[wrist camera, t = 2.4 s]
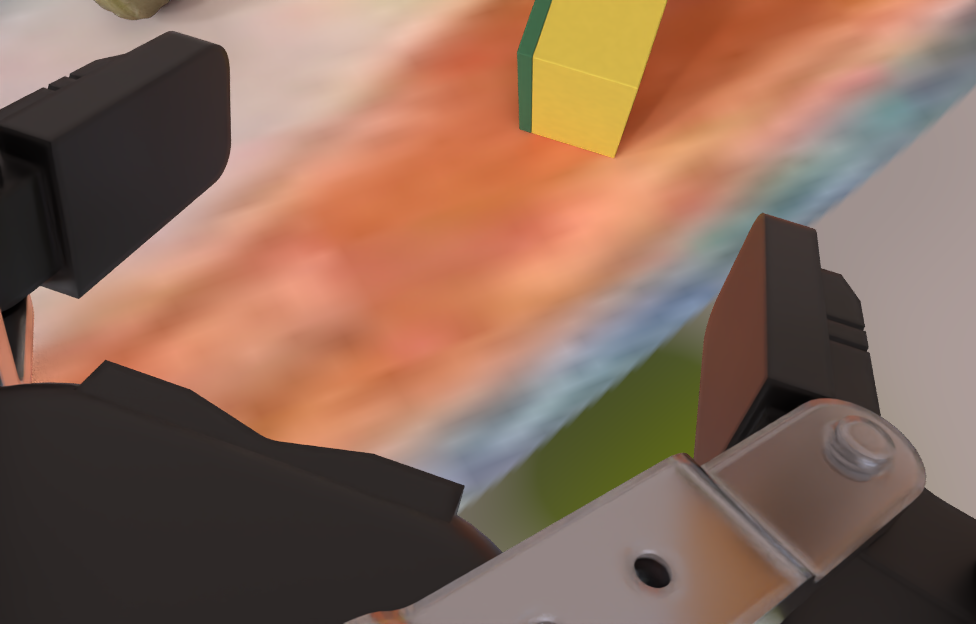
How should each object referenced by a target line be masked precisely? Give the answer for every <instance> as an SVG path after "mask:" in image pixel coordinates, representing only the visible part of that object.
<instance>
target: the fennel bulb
mask: <svg viewBox="0 0 976 624" xmlns="http://www.w3.org/2000/svg"><path fill="white" fill-rule="evenodd" d="M94 1H95V2H96V3H97V4H99V5H100V6H101V7H102V8H104V9H106V10H108V11H111V12H113V13H114V14H115V15H117V16H118V17H121V18H124V19H128V20H137V19H143V18H150V17H152V16H153V15H154V14H155V13H156V12H157V11H158V10H159V9H160V8H161V7H162V6H163V5H165V4H167V3H168V2H169V1H170V0H94Z"/></svg>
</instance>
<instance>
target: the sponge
mask: <svg viewBox="0 0 976 624" xmlns="http://www.w3.org/2000/svg"><path fill="white" fill-rule="evenodd" d="M666 3H667V0H535V2H534V5H533V8H532V11H531V14H530V17H529V19H528V22H527V25H526V28H525V31H524V34H523V37H522V40H521V42H520V45H519V48H518V51H517V62H518V96H519V129H520V130H524V131H527V132H532V133H533V134H537V135H540V136H543V137H546V138H550V139H553V140H556V141H559V142H563V143H566V144H569V145H572V146H576V147H579V148H582V149H586V150H589V151H592V152H595V153H599V154H602V155H605V156H608V157H612V158H614V157H615V155H616V152H617V149H618V146H619V143H620V140H621V137H622V135H623V132H624V129H625V126H626V123H627V120H628V117H629V114H630V112H631V109H632V106H633V103H634V100H635V97H636V94H637V91H638V88H639V85H640V82H641V79H642V76H643V73H644V70H645V67H646V64H647V61H648V58H649V55H650V52H651V49H652V46H653V43H654V40H655V37H656V34H657V31H658V28H659V25H660V22H661V19H662V15H663V12H664V9H665V6H666Z"/></svg>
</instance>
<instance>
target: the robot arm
mask: <svg viewBox="0 0 976 624" xmlns="http://www.w3.org/2000/svg"><path fill="white" fill-rule="evenodd" d="M230 148H231V117H230V67H229V59H228V55H227V53H226V51H225V49H224V48H223V47H222V46H220V45H217V44H214V43H211V42H208V41H204V40H201V39H198V38H194V37H191V36H188V35H185V34H181V33H178V32H175V31H169V32H166V33H164V34H162V35H160V36H158V37H156V38H154V39H153V40H151V41H149V42H147V43H145V44H143V45H141V46H139V47H137V48H136V49H134V50H132V51H130V52H128V53H126V54H122V55H118V56H113V57H108V58H104V59H99V60H95V61H93V62H91V63H90V64H88V65H86V66H84V67H82V68H80V69H78V70H76V71H74V72H72V73H70V76H69V77H65V76H64V77H62V78H60V79H58V80H57V81H55V82H53V83H51V84H49V86H48V89H46V88H41V89H39V90H37V91H35V92H33V93H31V94H29V95H27V96H25V97H23V98H22V99H20V100H18V101H16V102H14V103H12V104H10V105H8V106H6V107H4V108H2V109H0V624H976V519H974V518H972V517H971V516H969V515H967V514H965V513H964V512H962V511H960V510H959V509H957V508H955V507H953V506H952V505H950V504H948V503H946V502H945V501H943V500H942V499H940V498H939V497H937V496H935V495H934V494H933V493H931V492H930V491H929V490H927V489H926V488H925V484H926V472H925V467H924V464H923V462H922V459H921V457H920V455H919V454H918V452H917V450H916V449H915V447H914V446H913V445H912V444H911V442H910V441H909V440H908V439H907V438H906V437H905V436H904V435H903V434H902V432H900V431H899V430H898V429H897V428H896V427H895V426H893V425H892V424H891V423H889V422H888V421H887V420H885V419H884V418H882V417H881V414H880V409H879V403H878V398H877V392H876V387H875V381H874V375H873V369H872V364H871V358H870V353H869V352H867V349H868V341H867V336H866V331H863V330H864V327H865V324H864V319H863V313H862V308H861V302H860V300H859V299H858V297H857V296H856V294H855V293H854V292H853V290H852V289H851V287H850V286H849V285H848V283H847V282H846V280H845V279H844V278H843V276H842V275H841V274H838V273H835V272H831V271H828V270H825V269H822V268H821V265H820V257H819V249H818V240H817V232H816V230H815V229H813V228H810V227H807V226H803V225H800V224H797V223H794V222H790V221H787V220H784V219H781V218H777V217H774V216H771V215H768V214H764V213H762V214H760V215H759V216H758V218H757V219H756V220H755V222H754V224H753V225H752V227H751V229H750V231H749V233H748V236H747V238H746V240H745V242H744V244H743V246H742V248H741V250H740V252H739V254H738V256H737V258H736V260H735V262H734V264H733V266H732V268H731V271H730V273H729V275H728V277H727V279H726V281H725V283H724V285H723V287H722V289H721V291H720V293H719V295H718V297H717V300H716V302H715V304H714V307H713V309H712V312H711V315H710V318H709V321H708V324H707V328H706V332H705V337H704V344H703V356H702V368H701V380H700V391H699V404H698V414H697V426H696V439H695V449H694V459H692V458H691V457H690V456H689V455H688V454H686V453H680V454H676V455H673V456H671V457H669V458H667V459H665V460H663V461H661V462H660V463H658V464H656V465H655V466H653V467H651V468H649V469H648V470H646V471H644V472H642V473H641V474H639V475H637V476H635V477H634V478H632V479H631V480H628V481H627V482H625V483H623V484H621V485H620V486H618V487H616V488H615V489H613V490H611V491H610V492H608V493H606V494H604V495H603V496H601V497H599V498H597V499H595V500H594V501H592V502H590V503H589V504H587V505H585V506H583V507H582V508H580V509H578V510H577V511H575V512H573V513H571V514H569V515H568V516H566V517H564V518H562V519H561V520H559V521H557V522H555V523H554V524H552V525H550V526H548V527H547V528H545V529H544V530H542V531H540V532H538V533H536V534H535V535H533V536H531V537H529V538H528V539H526V540H524V541H522V542H521V543H519V544H517V545H515V546H514V547H512V548H510V549H508V550H507V551H505V552H501V550H500V549H499V548H498V547H497V546H496V545H495V544H494V543H493V542H492V541H491V540H490V539H489V538H488V537H486V536H485V535H484V534H483V533H481V532H480V531H479V530H478V529H477V528H475V527H474V526H473V525H472V524H470V523H468V522H467V521H466V520H464V519H462V518H461V517H459V516H458V515H457V512H458V508H459V504H460V501H461V497H462V494H463V490H464V485H461V484H458V483H455V482H453V481H450V480H447V479H444V478H441V477H438V476H435V475H433V474H430V473H427V472H424V471H421V470H418V469H415V468H413V467H410V466H407V465H404V464H401V463H398V462H395V461H393V460H390V459H387V458H384V457H381V456H378V455H375V454H371V453H363V452H356V451H348V450H340V449H333V448H325V447H317V446H310V445H302V444H294V443H287V442H279V441H274V440H271V439H268V438H265V437H263V436H262V435H260V434H258V433H257V432H255V431H254V430H252V429H251V428H249V427H247V426H246V425H244V424H243V423H241V422H240V421H238V420H237V419H235V418H234V417H232V416H230V415H229V414H227V413H226V412H224V411H223V410H221V409H220V408H218V407H217V406H215V405H213V404H212V403H210V402H209V401H207V400H206V399H204V398H203V397H201V396H200V395H198V394H197V393H195V392H193V391H192V390H190V389H187V388H184V387H181V386H178V385H176V384H173V383H170V382H167V381H164V380H161V379H159V378H156V377H153V376H150V375H147V374H144V373H141V372H139V371H136V370H133V369H130V368H127V367H124V366H121V365H119V364H116V363H113V362H110V361H107V360H105V361H104V362H103V363H102V364H101V365H100V366H99V367H98V368H97V369H96V370H95V371H94V372H93V373H92V374H91V375H90V376H89V377H88V378H87V379H86V380H85V381H84V382H83V383H82V384H74V383H49V382H48V383H32V358H33V327H34V310H33V305H32V300H31V296H30V293H31V292H33V291H34V290H35V289H37V288H38V287H39V286H43V287H46V288H49V289H51V290H54V291H57V292H60V293H63V294H66V295H69V296H72V297H75V298H78V299H79V298H81V297H82V296H83V295H84V294H85V293H86V292H88V291H89V290H90V289H91V288H92V287H93V286H95V285H96V284H97V283H98V282H99V281H100V280H102V279H103V278H104V277H105V276H106V275H107V274H109V273H110V272H111V271H112V270H113V269H114V268H116V267H117V266H118V265H119V264H120V263H121V262H123V261H124V260H125V259H126V258H127V257H129V256H130V255H131V254H132V253H133V252H134V251H136V250H137V249H138V248H139V247H140V246H141V245H143V244H144V243H145V242H146V241H147V240H148V239H150V238H151V237H152V236H153V235H154V234H155V233H157V232H158V231H159V230H160V229H161V228H162V227H164V226H165V225H166V224H167V223H168V222H170V221H171V220H172V219H173V218H174V217H175V216H177V215H178V214H179V213H180V212H181V211H182V210H184V209H185V208H186V207H187V206H188V205H189V204H191V203H192V202H193V201H194V200H195V199H196V198H198V197H199V196H200V195H201V194H202V193H203V192H205V191H206V190H207V189H208V188H209V187H210V186H212V185H213V184H214V183H215V182H216V181H217V180H218V179H219V178H220V176H221V175H222V173H223V171H224V169H225V167H226V165H227V162H228V159H229V154H230Z"/></svg>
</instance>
